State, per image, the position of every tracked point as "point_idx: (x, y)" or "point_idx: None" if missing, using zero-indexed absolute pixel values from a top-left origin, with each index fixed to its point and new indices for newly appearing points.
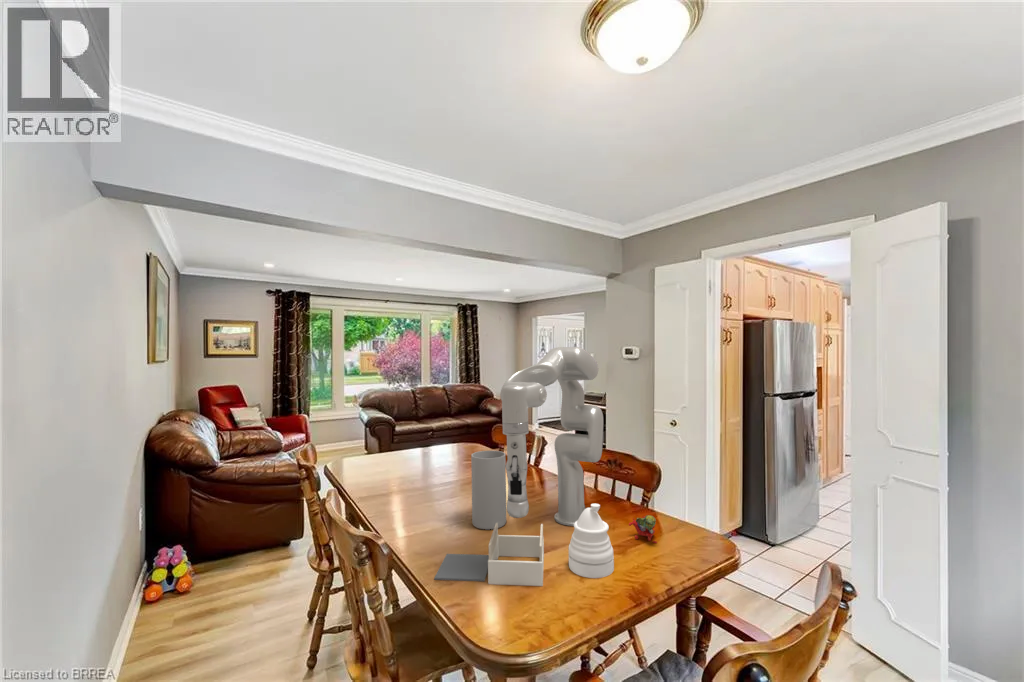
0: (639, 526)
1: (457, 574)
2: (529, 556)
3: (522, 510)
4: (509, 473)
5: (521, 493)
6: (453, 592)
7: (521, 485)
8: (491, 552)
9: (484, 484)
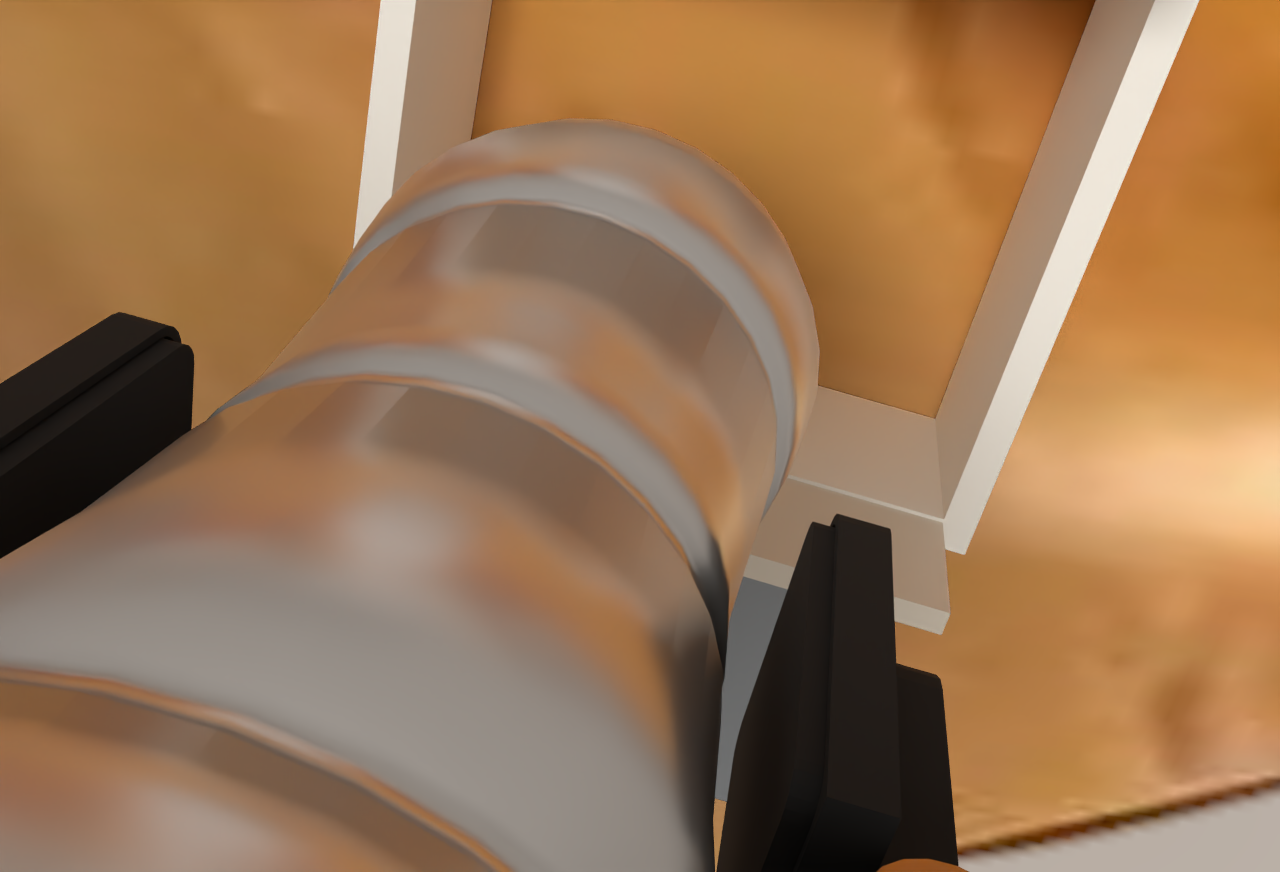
0: None
1: (756, 665)
2: None
3: (808, 312)
4: None
5: (885, 540)
6: (996, 708)
7: (895, 687)
8: (894, 538)
9: None
